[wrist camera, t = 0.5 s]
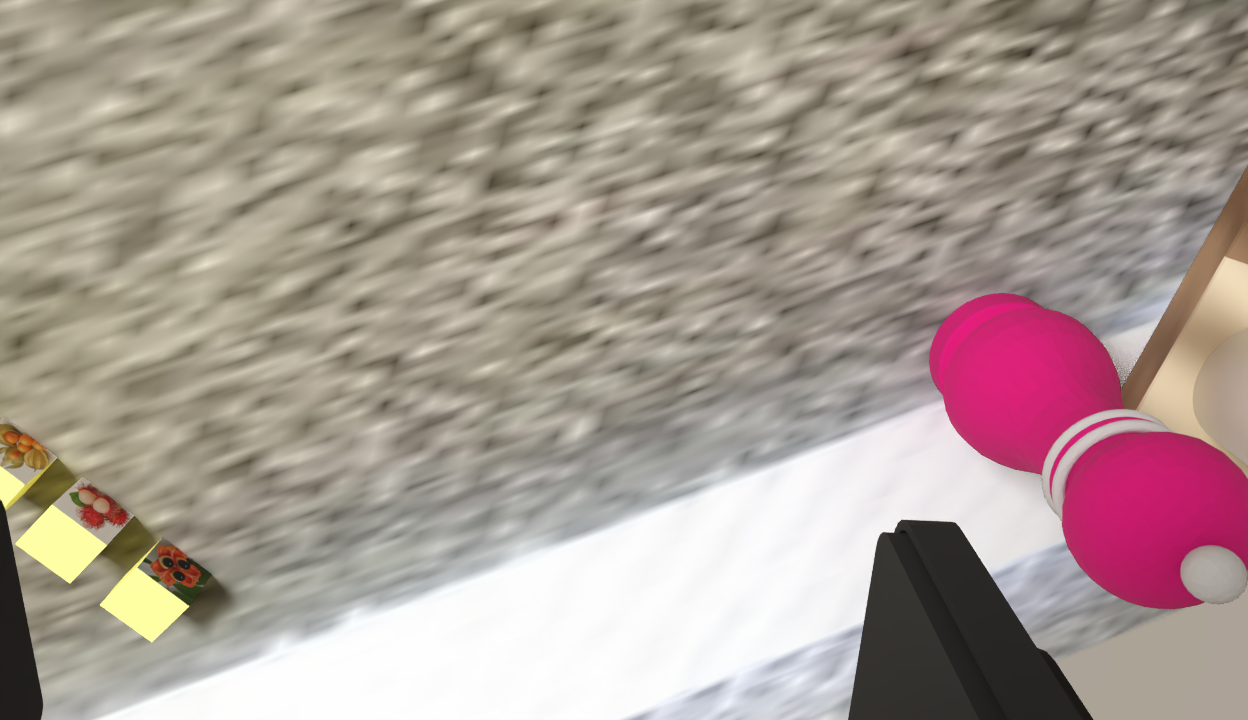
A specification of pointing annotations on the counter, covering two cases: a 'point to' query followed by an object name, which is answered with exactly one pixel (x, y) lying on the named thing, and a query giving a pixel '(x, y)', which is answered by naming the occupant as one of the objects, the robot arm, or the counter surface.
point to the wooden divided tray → (1196, 325)
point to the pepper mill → (1095, 454)
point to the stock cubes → (96, 540)
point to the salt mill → (1225, 395)
